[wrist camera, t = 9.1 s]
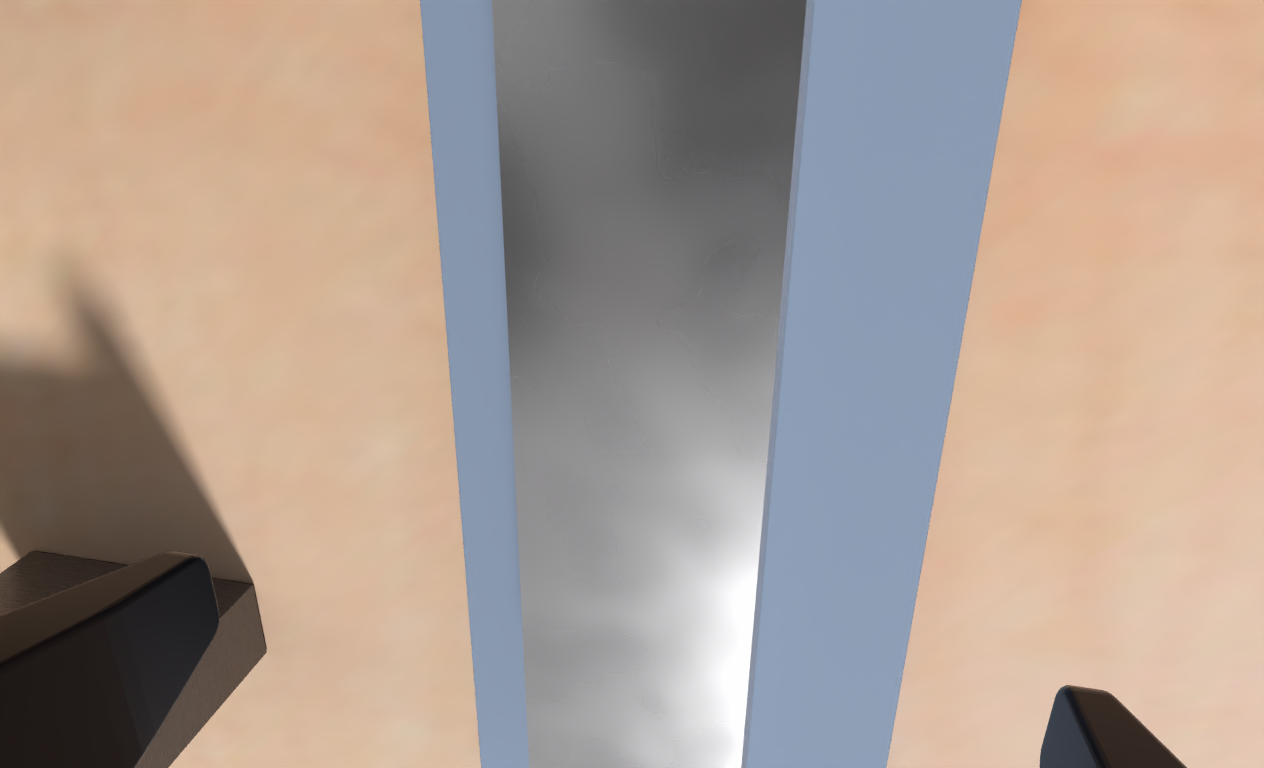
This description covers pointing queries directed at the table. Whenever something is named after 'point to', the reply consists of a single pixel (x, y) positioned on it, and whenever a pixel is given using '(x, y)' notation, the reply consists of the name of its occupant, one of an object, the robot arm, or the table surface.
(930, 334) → the mat
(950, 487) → the table surface
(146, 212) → the table surface
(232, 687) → the stand
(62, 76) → the table surface
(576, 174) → the rail
